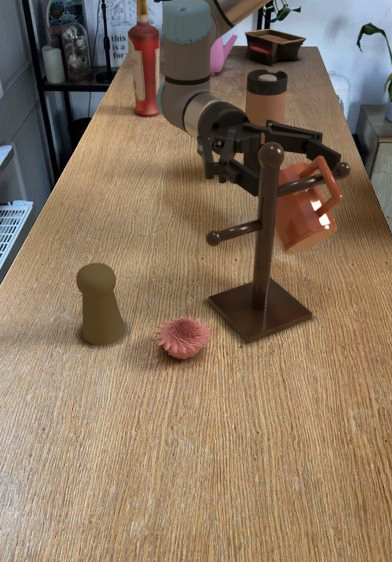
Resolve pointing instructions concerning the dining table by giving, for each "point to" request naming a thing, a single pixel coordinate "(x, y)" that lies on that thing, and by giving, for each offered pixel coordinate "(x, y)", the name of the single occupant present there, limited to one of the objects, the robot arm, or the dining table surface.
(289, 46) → the dark brown boxy piece
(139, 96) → the liquor
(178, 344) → the flower
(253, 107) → the travel mug
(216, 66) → the teapot
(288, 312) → the mug tree
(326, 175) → the mug
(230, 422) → the dining table surface
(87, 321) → the olive brown pawn
